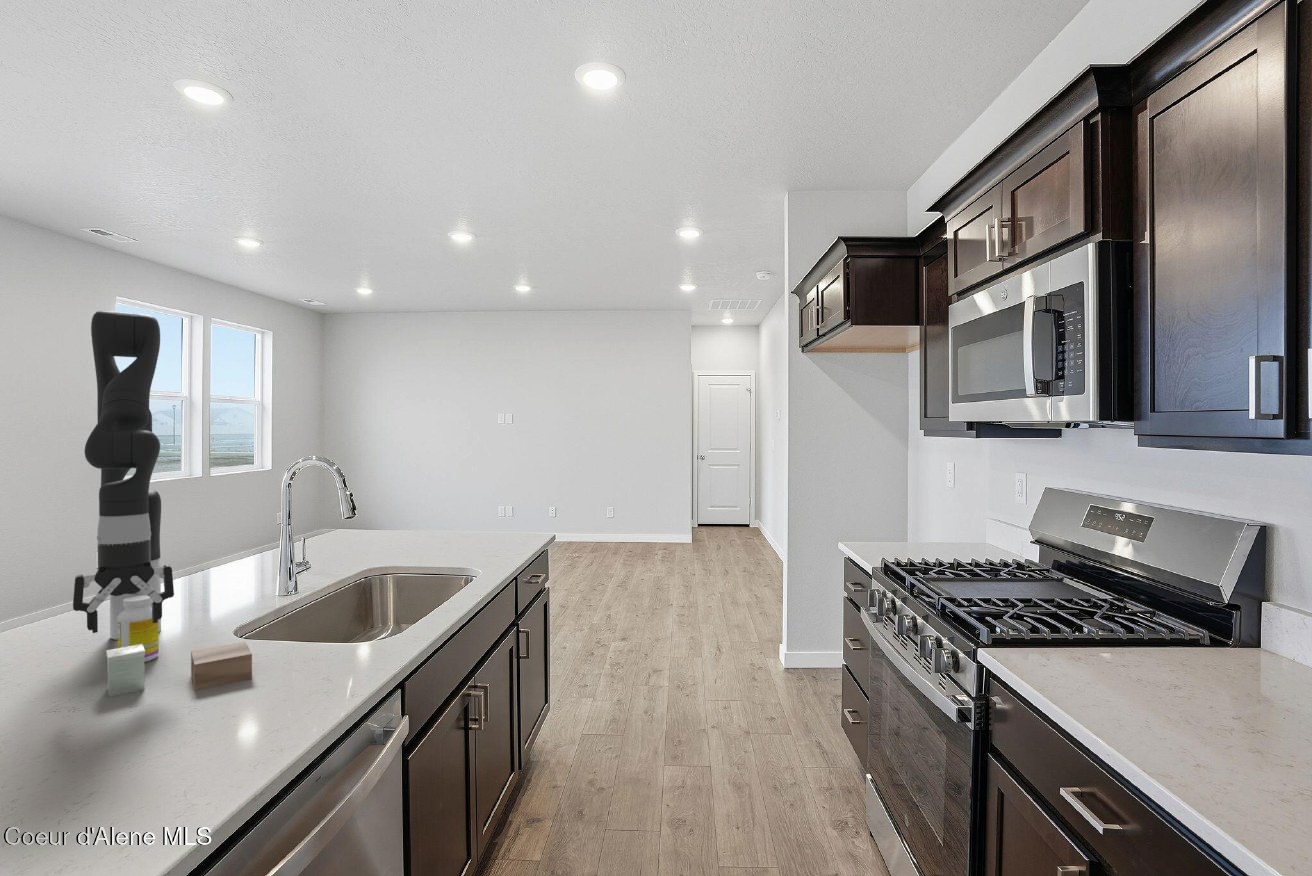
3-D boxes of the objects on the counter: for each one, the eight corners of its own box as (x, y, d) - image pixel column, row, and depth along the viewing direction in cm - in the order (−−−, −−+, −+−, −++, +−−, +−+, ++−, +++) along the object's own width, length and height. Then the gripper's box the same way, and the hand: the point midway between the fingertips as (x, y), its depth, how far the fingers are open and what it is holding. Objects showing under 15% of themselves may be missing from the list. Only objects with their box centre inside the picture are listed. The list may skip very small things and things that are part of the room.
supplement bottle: (167, 654, 137) (166, 594, 137) (139, 666, 130) (138, 602, 130) (138, 653, 138) (137, 593, 137) (108, 664, 131) (108, 601, 131)
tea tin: (106, 688, 120) (106, 650, 119) (142, 680, 123) (142, 643, 123) (108, 697, 116) (108, 657, 116) (145, 689, 119) (145, 650, 119)
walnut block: (191, 676, 126) (191, 651, 126) (245, 666, 132) (245, 641, 131) (194, 691, 119) (194, 664, 119) (252, 679, 125) (251, 653, 124)
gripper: (170, 532, 126) (171, 615, 127) (72, 540, 117) (73, 630, 117) (175, 537, 121) (176, 623, 121) (72, 546, 111) (73, 640, 111)
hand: (125, 626), depth 119 cm, fingers open, 8 cm apart
